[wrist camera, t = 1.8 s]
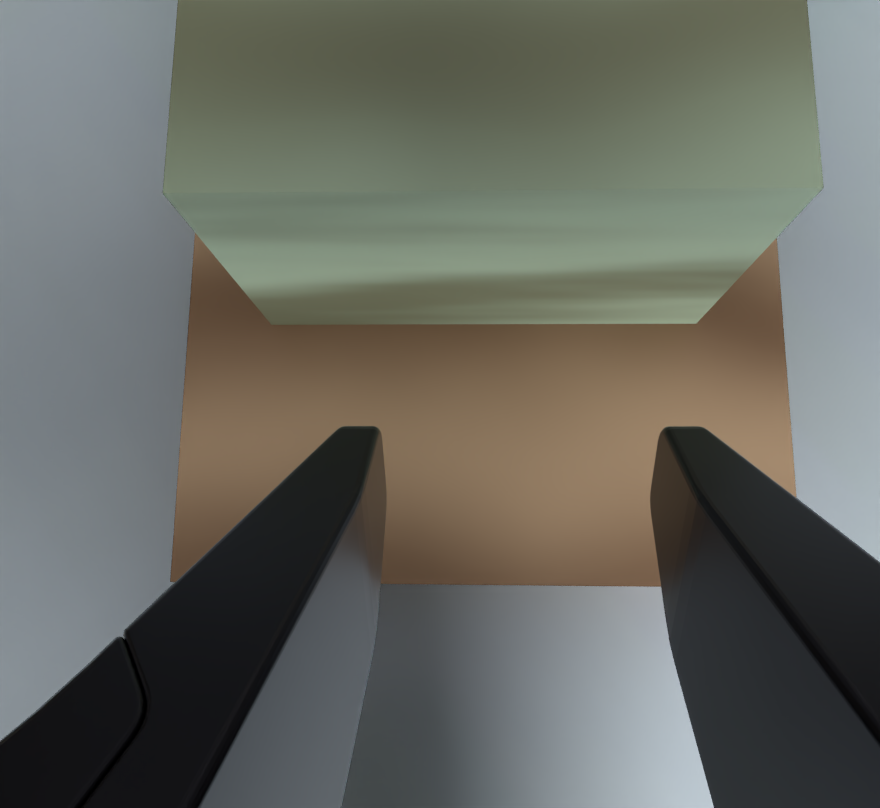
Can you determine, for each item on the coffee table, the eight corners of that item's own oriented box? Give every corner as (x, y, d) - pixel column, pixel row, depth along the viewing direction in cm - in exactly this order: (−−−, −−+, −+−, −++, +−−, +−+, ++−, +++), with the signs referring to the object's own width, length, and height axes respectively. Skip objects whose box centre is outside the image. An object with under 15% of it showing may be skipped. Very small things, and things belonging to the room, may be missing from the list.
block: (696, 323, 19) (823, 187, 12) (271, 324, 19) (162, 193, 13) (685, 127, 20) (797, -101, 13) (281, 131, 20) (184, -88, 14)
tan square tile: (762, 585, 20) (803, 588, 18) (205, 579, 21) (170, 581, 18) (733, 141, 23) (765, 89, 20) (232, 146, 23) (205, 96, 21)
